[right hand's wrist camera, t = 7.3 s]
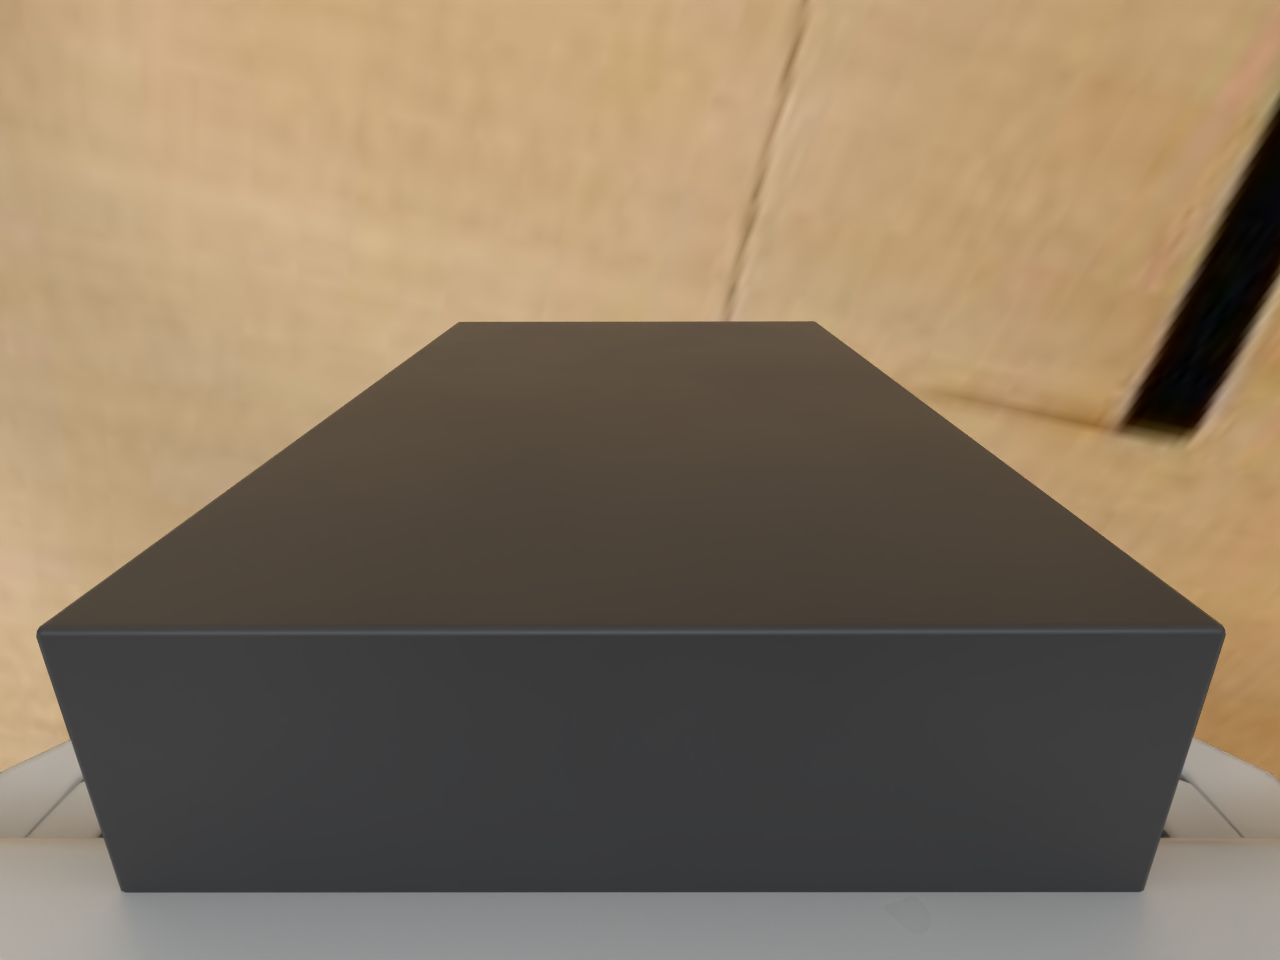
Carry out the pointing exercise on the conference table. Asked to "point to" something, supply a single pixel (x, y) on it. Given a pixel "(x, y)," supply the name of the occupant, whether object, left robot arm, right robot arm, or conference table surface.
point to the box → (632, 643)
